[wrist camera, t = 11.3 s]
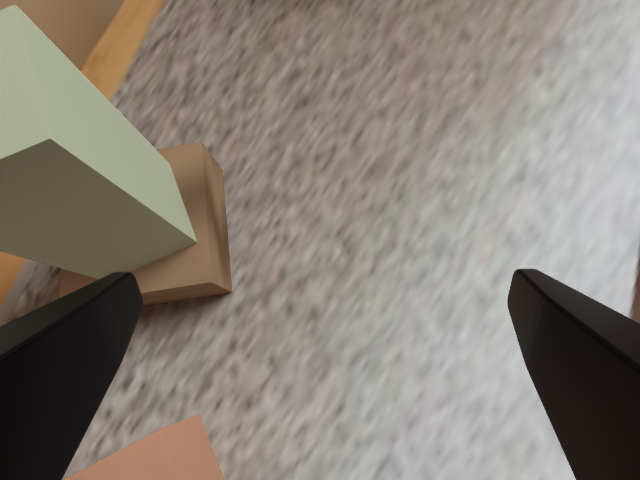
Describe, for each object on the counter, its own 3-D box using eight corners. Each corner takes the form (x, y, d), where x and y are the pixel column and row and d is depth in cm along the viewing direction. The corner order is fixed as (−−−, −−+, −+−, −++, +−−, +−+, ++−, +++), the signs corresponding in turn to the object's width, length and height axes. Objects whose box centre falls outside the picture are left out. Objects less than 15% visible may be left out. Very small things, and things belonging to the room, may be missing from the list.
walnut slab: (233, 293, 24) (211, 282, 20) (105, 313, 24) (58, 305, 20) (224, 172, 26) (202, 142, 22) (106, 192, 26) (64, 165, 22)
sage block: (197, 242, 21) (50, 138, 10) (107, 281, 20) (-132, 213, 10) (169, 163, 22) (15, 4, 12) (84, 199, 22) (-146, 68, 12)
